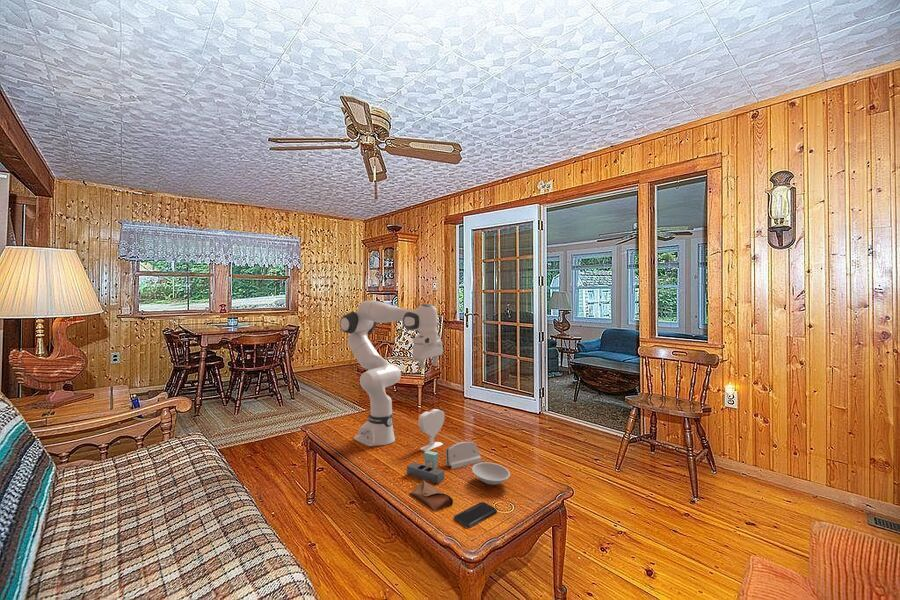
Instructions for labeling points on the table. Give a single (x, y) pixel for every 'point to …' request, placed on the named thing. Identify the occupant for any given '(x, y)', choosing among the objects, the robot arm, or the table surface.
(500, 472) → the dish
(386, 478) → the table surface
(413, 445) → the table surface
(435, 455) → the pale teal plug block
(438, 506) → the sunglasses case
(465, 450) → the napkin holder
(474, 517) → the phone
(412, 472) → the grey rectangular block
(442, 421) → the heart sculpture
